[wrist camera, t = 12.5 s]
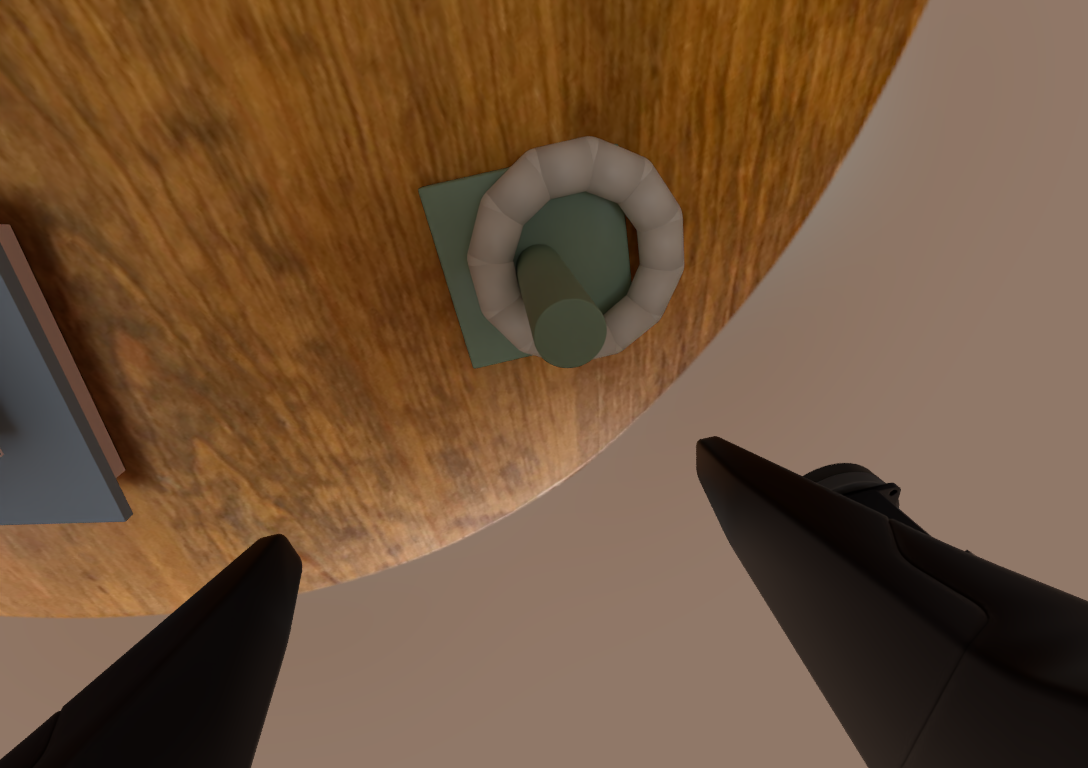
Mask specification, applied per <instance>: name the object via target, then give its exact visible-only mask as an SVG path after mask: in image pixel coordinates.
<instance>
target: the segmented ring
mask: <svg viewBox="0 0 1088 768" xmlns="http://www.w3.org/2000/svg"><path fill="white" fill-rule="evenodd" d="M585 191H586V192H589V193H591V194H594V195H597V196H599V197H602V198H605V199H607V200H610V201H613V202H615V203H618V205H619V206H620V208H621V209H622V210H623V212H624V213H625V215H626V216H627V217H628V219H629V220H630V221H631V223H632V224H633V226H634V227H635V228H636V230H637V237H638V249H639V260H640V264H639V267H638V269H637V272H636V274H635V276H634V279H633V281H632V283H631V286H630V288H629V290H628V293H627V295H626V296H625V297H624V298H622V299H621V300H620V301H619V302H618V303H616V304H615V305H614V306H613V307H612V308H611V309H609V310H608V311H607V312H606V313H605V314H604V315H603V316H604V318H605V321H606V325H607V335H606V340H605V343H604V345H603V347H602V349H601V350H600V352H599V353H598V354H597V356H595V357H594V358H593V359H596V358H600V357H605V356H609V355H613V354H617V353H619V352H621V351H623V350H624V349H625V348H626V347H628V346H629V345H630V344H631V343H632V342H634V341H635V340H636V339H637V338H639V337H640V336H641V335H642V334H644V333H645V332H646V331H647V330H648V329H650V328H651V327H652V326H653V325H655V324H656V323H657V322H658V321H659V320H660V319H661V317H662V315H663V313H664V311H665V309H666V307H667V305H668V303H669V301H670V299H671V296H672V294H673V292H674V290H675V288H676V286H677V284H678V281H679V279H680V277H681V275H682V273H683V270H684V243H683V217H682V211H681V208H680V206H679V204H678V203H677V201H676V200H675V198H674V197H673V195H672V194H671V192H670V190H669V189H668V187H667V186H666V184H665V183H664V181H663V180H662V178H661V177H660V175H659V174H658V172H657V170H656V169H655V167H654V166H653V164H652V163H651V162H650V161H649V160H648V159H647V158H645V157H643V156H640V155H638V154H636V153H633V152H631V151H628V150H626V149H623V148H621V147H619V146H616V145H614V144H611V143H609V142H606V141H604V140H602V139H599V138H596V137H592V136H586V137H581V138H577V139H572V140H568V141H564V142H559V143H555V144H550V145H546V146H541V147H537V148H533V149H530V150H528V151H527V152H525V153H524V154H523V155H522V156H521V157H520V158H519V159H518V160H517V161H516V162H515V163H514V164H513V165H512V166H511V167H510V168H509V169H508V170H507V171H506V172H505V173H504V174H503V175H502V176H501V177H500V178H499V179H498V180H497V181H496V183H495V184H494V185H493V186H492V187H491V188H490V189H489V190H488V191H487V192H486V193H485V194H484V195H483V197H482V199H481V202H480V205H479V209H478V213H477V217H476V221H475V225H474V229H473V233H472V237H471V241H470V245H469V249H468V254H467V262H468V266H469V270H470V273H471V277H472V280H473V284H474V288H475V291H476V295H477V298H478V302H479V305H480V309H481V311H482V313H483V315H484V316H485V318H486V319H487V320H488V321H489V322H490V323H491V324H493V325H494V326H495V327H496V328H497V329H498V330H499V331H500V332H501V333H502V334H503V335H504V336H505V337H506V338H507V339H508V340H509V341H510V342H511V343H512V344H513V345H514V346H515V347H516V348H517V349H519V350H520V351H522V352H524V353H527V354H531V355H535V356H539V357H541V356H540V355H539V353H538V352H537V350H536V347H535V344H534V341H533V337H532V333H531V329H530V325H529V321H528V317H527V314H526V310H525V306H524V302H523V298H522V294H521V292H520V288H519V284H518V279H517V275H516V271H515V266H514V262H513V259H514V255H515V252H516V249H517V245H518V242H519V239H520V235H521V232H522V228H523V225H524V224H525V223H526V222H527V221H529V220H530V219H531V218H532V217H533V216H534V215H535V214H536V213H537V212H538V211H539V210H540V209H541V208H542V207H543V206H544V205H545V204H546V203H547V202H548V201H549V200H550V199H554V198H559V197H563V196H567V195H572V194H576V193H581V192H585Z"/></svg>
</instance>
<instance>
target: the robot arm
mask: <svg viewBox="0 0 1088 768" xmlns="http://www.w3.org/2000/svg"><path fill="white" fill-rule="evenodd" d="M696 456H697V457H696V465H697V466H696V470H697V475H698V478H699V480H700V483H701V485H702V487H703V489H704V491H705V493H706V495H707V497H708V499H709V502H710V504H711V506H712V508H713V510H714V512H715V514H716V516H717V518H718V520H719V522H720V525H721V527H722V529H723V531H724V533H725V535H726V537H727V539H728V541H729V543H730V545H731V546H732V548H733V550H734V551H735V553H736V555H737V556H738V558H739V560H740V561H741V563H742V564H743V566H744V568H745V569H746V571H747V572H748V574H749V576H750V577H751V579H752V580H753V582H754V584H755V585H756V587H757V589H758V590H759V592H760V593H761V595H762V597H763V598H764V600H765V601H766V603H767V605H768V606H769V608H770V610H771V611H772V613H773V614H774V616H775V618H776V619H777V621H778V623H779V624H780V626H781V627H782V629H783V631H784V632H785V634H786V635H787V637H788V639H789V640H790V642H791V644H792V645H793V647H794V648H795V650H796V652H797V653H798V655H799V656H800V658H801V660H802V661H803V663H804V664H805V666H806V668H807V669H808V671H809V672H810V674H811V676H812V677H813V679H814V681H815V682H816V684H817V685H818V687H819V689H820V690H821V692H822V693H823V695H824V697H825V698H826V700H827V701H828V703H829V705H830V707H831V708H832V710H833V711H834V713H835V715H836V716H837V718H838V719H839V721H840V722H841V724H842V726H843V727H844V729H845V731H846V732H847V734H848V736H849V737H850V739H851V740H852V742H853V744H854V745H855V747H856V749H857V750H858V752H859V753H860V755H861V756H862V758H863V760H864V761H865V763H866V764H867V766H868V768H1088V601H1086V600H1083V599H1081V598H1079V597H1076V596H1073V595H1071V594H1068V593H1066V592H1064V591H1061V590H1059V589H1056V588H1054V587H1051V586H1049V585H1046V584H1043V583H1041V582H1039V581H1036V580H1034V579H1031V578H1028V577H1026V576H1024V575H1021V574H1019V573H1016V572H1014V571H1011V570H1008V569H1006V568H1004V567H1001V566H998V565H996V564H994V563H992V562H989V561H986V560H984V559H982V558H980V557H977V556H976V555H974V554H973V553H971V552H970V551H968V550H966V551H963V550H960V549H958V548H955V547H953V546H951V545H949V544H946V543H944V542H942V541H940V540H937V539H935V538H933V537H932V536H931V535H929V534H928V533H927V532H926V531H924V530H923V529H922V528H921V527H920V526H919V525H918V524H916V523H915V522H914V521H913V520H912V519H910V518H909V517H908V516H907V515H906V514H904V513H903V512H902V511H901V510H900V509H899V508H898V507H896V506H897V502H898V498H899V495H900V491H901V489H900V487H898V486H897V485H896V484H895V483H887V484H883V485H879V486H874V487H870V488H866V489H862V490H857V491H853V492H849V493H845V494H839V493H837V492H834V491H832V490H830V489H828V488H826V487H824V486H822V485H820V484H817V483H815V482H813V481H811V480H809V479H807V478H805V477H803V476H800V475H798V474H796V473H794V472H792V471H790V470H788V469H786V468H783V467H781V466H779V465H777V464H775V463H773V462H771V461H768V460H766V459H764V458H762V457H760V456H758V455H756V454H754V453H752V452H749V451H747V450H745V449H743V448H741V447H739V446H737V445H735V444H732V443H730V442H728V441H726V440H724V439H722V438H720V437H717V436H714V437H709V438H704V439H700V440H699V441H698V442H697V445H696ZM301 573H302V562H301V559H300V557H299V555H298V554H297V552H296V551H295V549H294V548H293V547H292V545H291V544H290V542H289V541H288V539H287V538H286V537H285V536H284V535H282V534H276V535H271V536H267V537H263V538H260V539H259V540H257V541H256V542H255V543H254V544H253V545H251V546H250V547H249V548H248V549H247V550H246V551H244V552H243V553H242V554H241V555H240V556H239V557H237V558H236V559H235V560H234V561H233V562H232V563H230V564H229V565H228V566H227V567H226V568H225V569H223V570H222V571H221V572H220V573H219V574H218V575H216V576H215V577H214V578H213V579H212V580H211V581H209V582H208V583H207V584H206V585H205V586H204V587H202V588H201V589H200V590H199V591H198V592H197V593H195V594H194V595H193V596H192V597H191V598H189V599H188V600H187V601H186V602H185V603H184V604H182V605H181V606H180V607H179V608H178V609H177V610H175V611H174V612H173V613H172V614H171V615H170V616H168V617H167V618H166V619H165V620H164V621H163V622H162V623H160V624H159V625H158V626H157V627H156V628H154V629H153V630H152V631H151V632H150V633H149V634H147V635H146V636H145V637H144V638H143V639H142V640H140V641H139V642H138V643H137V644H136V645H134V646H133V647H132V648H131V649H130V650H129V651H128V652H126V654H124V655H123V656H122V657H121V658H119V659H118V660H117V661H116V662H115V663H114V664H112V665H111V666H110V667H109V668H108V669H106V670H105V671H104V672H103V673H102V674H101V675H99V676H98V677H97V678H96V679H95V680H94V681H92V682H91V683H90V684H89V685H88V686H87V687H85V688H84V689H83V690H82V691H81V692H80V693H78V694H77V695H76V696H75V697H74V698H73V699H71V700H70V701H69V702H68V703H67V704H65V705H64V706H63V708H62V710H61V711H58V712H56V713H55V714H54V715H52V716H51V717H50V718H49V719H48V720H47V721H46V722H44V723H43V724H42V725H41V726H40V727H38V728H37V729H36V730H35V731H34V732H33V733H31V734H30V735H29V736H28V737H27V738H25V740H23V741H22V742H21V743H20V744H18V745H17V746H16V747H15V748H14V749H12V751H10V752H9V753H8V754H6V755H5V756H4V757H3V758H2V759H1V760H0V768H251V765H252V762H253V758H254V755H255V752H256V748H257V745H258V742H259V738H260V735H261V732H262V728H263V725H264V722H265V718H266V715H267V711H268V708H269V705H270V701H271V698H272V695H273V691H274V688H275V684H276V681H277V678H278V675H279V671H280V668H281V665H282V661H283V658H284V654H285V651H286V647H287V643H288V639H289V634H290V630H291V625H292V620H293V614H294V609H295V604H296V599H297V594H298V589H299V584H300V579H301Z"/></svg>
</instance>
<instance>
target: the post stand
mask: <svg viewBox="0 0 1088 768" xmlns="http://www.w3.org/2000/svg"><path fill="white" fill-rule="evenodd" d="M614 145H616V146H618V145H617V144H614ZM509 168H510V167H508V168H503V169H499V170H495V171H490V172H486V173H481V174H477V175H472V176H468V177H464V178H459V179H455V180H450V181H446V182H441V183H437V184H432V185H428V186H424V187H421V188H419V189H418V192H419V195H420V198H421V202H422V205H423V208H424V211H425V214H426V218H427V221H428V224H429V227H430V230H431V234H432V237H433V240H434V243H435V247H436V250H437V253H438V256H439V259H440V263H441V266H442V269H443V272H444V275H445V279H446V282H447V285H448V288H449V292H450V295H451V298H452V301H453V304H454V308H455V311H456V314H457V317H458V320H459V324H460V327H461V330H462V333H463V337H464V340H465V343H466V346H467V349H468V353H469V356H470V359H471V362H472V365H473V368H480V367H484V366H488V365H493V364H497V363H501V362H506V361H510V360H514V359H519V358H523V357H527V356H532V355H531V354H527V353H524V352H522V351H520V350H519V349H517V348H516V347H515V346H514V345H513V344H512V343H511V342H510V341H509V340H508V339H507V338H506V337H505V336H504V335H503V334H502V333H501V332H500V331H499V330H498V329H497V328H496V327H495V326H494V325H493V324H491V323H490V322H489V321H488V320H487V319H486V318H485V316H484V315H483V313H482V311H481V309H480V305H479V302H478V298H477V295H476V291H475V288H474V284H473V280H472V277H471V273H470V270H469V266H468V262H467V254H468V249H469V245H470V241H471V237H472V233H473V229H474V225H475V221H476V217H477V213H478V209H479V205H480V202H481V199H482V197H483V195H484V194H485V193H486V192H487V191H488V190H489V189H490V188H491V187H492V186H493V185H494V184H495V183H496V181H497V180H498V179H499V178H500V177H501V176H502V175H503V174H504V173H505V172H506V171H507V170H508V169H509ZM513 262H514V266H515V271H516V275H517V279H518V284H519V288H520V292H521V294H522V298H523V302H524V306H525V310H526V314H527V317H528V321H529V325H530V329H531V333H532V337H533V341H534V344H535V347H536V350H537V352H538V353H539V355H540V356H541V357H542V358H543V359H544V360H545V361H547V362H548V363H550V364H552V365H554V366H557V367H561V368H574V367H578V366H581V365H584V364H586V363H588V362H589V361H591V360H592V359H593V358H594V357H595V356H597V354H598V353H599V352H600V350H601V349H602V347H603V345H604V343H605V340H606V335H607V325H606V321H605V318H604V316H603V315H604V314H605V313H606V312H607V311H608V310H609V309H611V308H612V307H613V306H614V305H615V304H616V303H618V302H619V301H620V300H621V299H622V298H624V297H625V296H626V295H627V293H628V290H629V288H630V286H631V283H632V282H631V272H630V262H629V251H628V241H627V231H626V221H625V213H624V212H623V210H622V209H621V208H620V206H619V205H618V203H615V202H613V201H610V200H607V199H605V198H602V197H599V196H597V195H594V194H591V193H589V192H586V191H585V192H581V193H576V194H572V195H567V196H563V197H559V198H554V199H550V200H549V201H548V202H547V203H546V204H545V205H544V206H543V207H542V208H541V209H540V210H539V211H538V212H537V213H536V214H535V215H534V216H533V217H532V218H531V219H530V220H529V221H527V222H526V223H525V224H524V225H523V228H522V232H521V235H520V239H519V242H518V245H517V249H516V252H515V255H514V259H513Z"/></svg>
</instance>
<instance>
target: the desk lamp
mask: <svg viewBox="0 0 1088 768" xmlns="http://www.w3.org/2000/svg"><path fill="white" fill-rule="evenodd" d="M124 471H125V468H124V466H123V464H122V462H121V460H120V457H119V455H118V453H117V451H116V449H115V447H114V445H113V443H112V440H111V438H110V436H109V434H108V432H107V430H106V428H105V426H104V423H103V421H102V419H101V417H100V415H99V413H98V411H97V409H96V406H95V404H94V402H93V400H92V398H91V396H90V394H89V392H88V389H87V387H86V385H85V383H84V381H83V379H82V377H81V375H80V372H79V370H78V368H77V366H76V364H75V362H74V360H73V358H72V355H71V353H70V351H69V349H68V347H67V345H66V343H65V341H64V338H63V336H62V334H61V332H60V330H59V328H58V326H57V324H56V321H55V319H54V317H53V315H52V313H51V311H50V309H49V307H48V304H47V302H46V300H45V298H44V296H43V294H42V292H41V290H40V288H39V285H38V283H37V281H36V279H35V277H34V275H33V273H32V271H31V268H30V266H29V264H28V262H27V260H26V258H25V256H24V254H23V251H22V249H21V247H20V245H19V243H18V241H17V239H16V237H15V234H14V232H13V230H12V228H11V226H10V225H8V224H0V525H20V524H56V523H92V522H126V521H127V520H128V519H129V518H130V517H131V516H132V515H133V512H132V510H131V508H130V506H129V504H128V502H127V500H126V498H125V496H124V494H123V492H122V490H121V488H120V486H119V484H118V482H117V480H116V478H117V477H118V476H119V475H120V474H122V473H123V472H124Z"/></svg>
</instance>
